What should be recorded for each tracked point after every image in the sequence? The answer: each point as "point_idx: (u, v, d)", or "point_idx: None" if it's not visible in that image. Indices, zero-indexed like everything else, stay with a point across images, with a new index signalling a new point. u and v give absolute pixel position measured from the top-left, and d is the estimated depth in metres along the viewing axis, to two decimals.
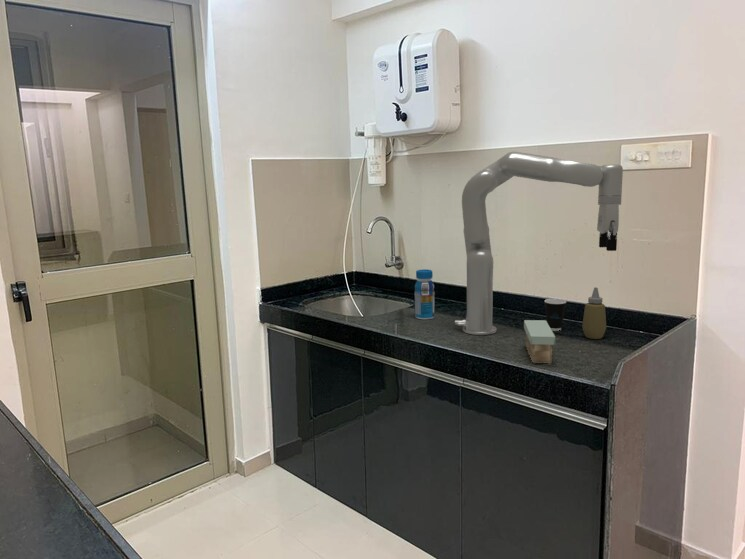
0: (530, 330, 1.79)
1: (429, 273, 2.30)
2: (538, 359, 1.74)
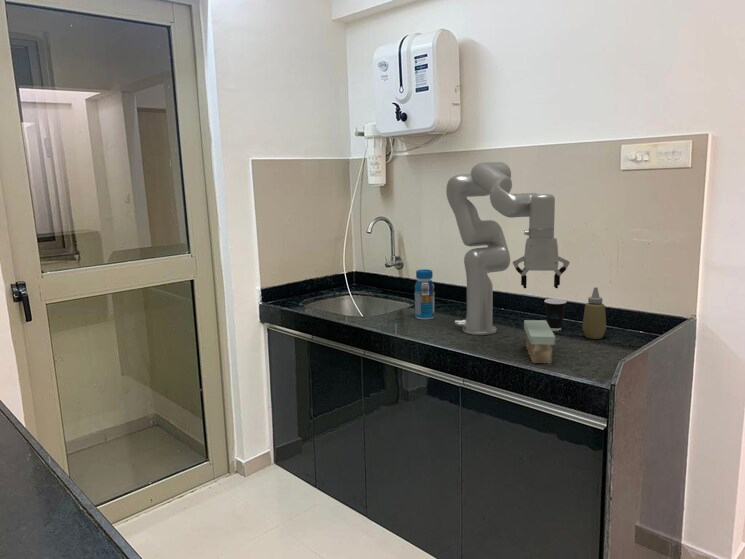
0: (530, 330, 1.79)
1: (429, 273, 2.30)
2: (538, 359, 1.74)
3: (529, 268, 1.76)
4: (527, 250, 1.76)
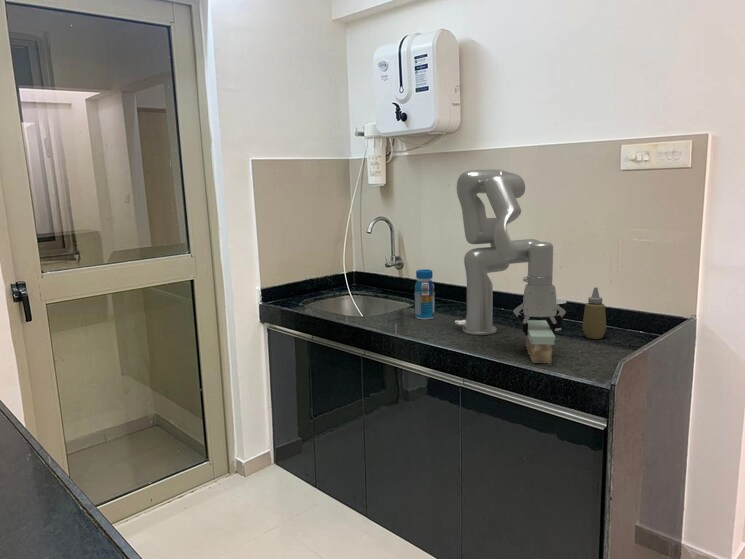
0: (530, 330, 1.79)
1: (429, 273, 2.30)
2: (538, 359, 1.74)
3: (528, 314, 1.79)
4: (526, 297, 1.78)
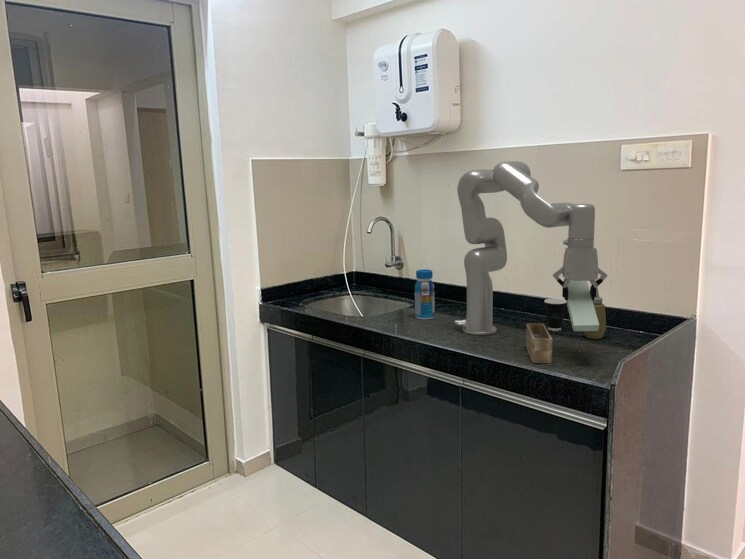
0: (572, 309, 1.74)
1: (429, 273, 2.30)
2: (538, 359, 1.74)
3: (568, 278, 1.75)
4: (566, 260, 1.74)
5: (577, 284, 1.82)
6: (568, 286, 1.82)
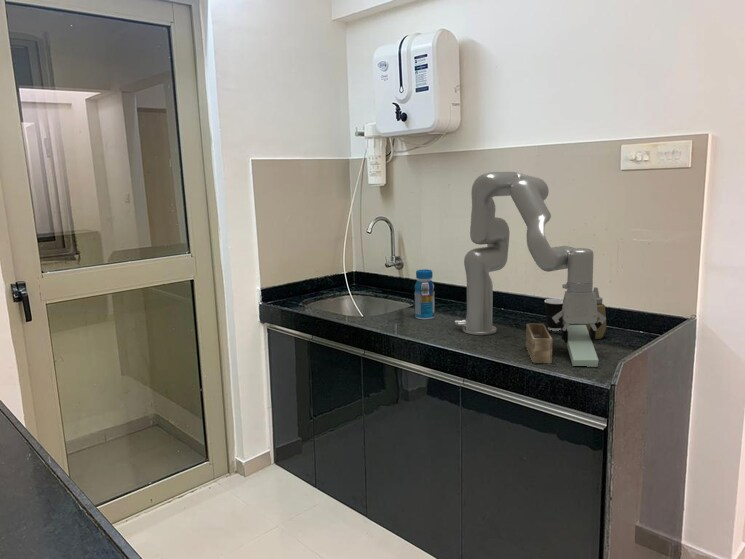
0: (571, 347, 1.76)
1: (429, 273, 2.30)
2: (538, 359, 1.74)
3: (568, 322, 1.77)
4: (566, 304, 1.77)
5: (576, 327, 1.85)
6: (567, 329, 1.85)
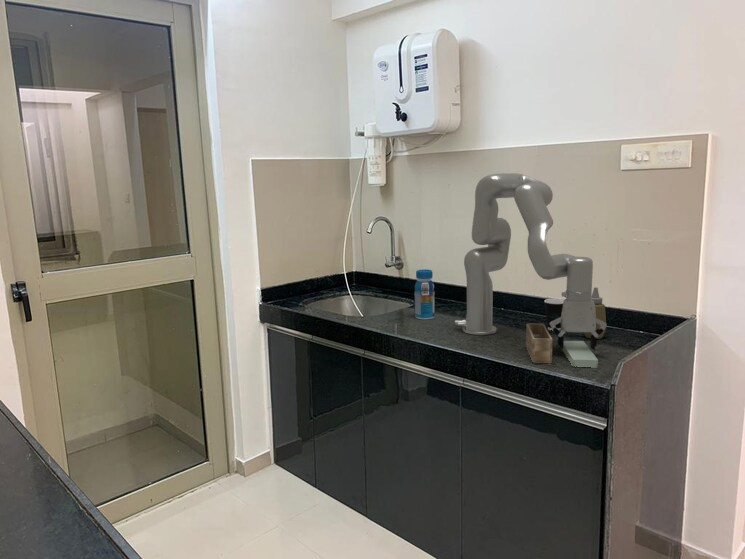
0: (570, 352, 1.77)
1: (429, 273, 2.30)
2: (538, 359, 1.74)
3: (566, 330, 1.78)
4: (565, 312, 1.77)
5: (574, 342, 1.87)
6: (566, 343, 1.87)
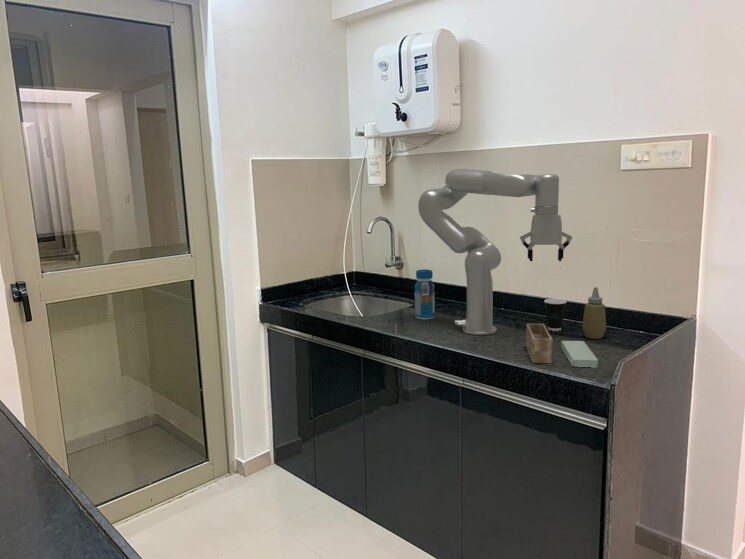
0: (570, 352, 1.77)
1: (429, 273, 2.30)
2: (538, 359, 1.74)
3: (535, 242, 1.92)
4: (533, 226, 1.91)
5: (574, 342, 1.87)
6: (566, 343, 1.87)
